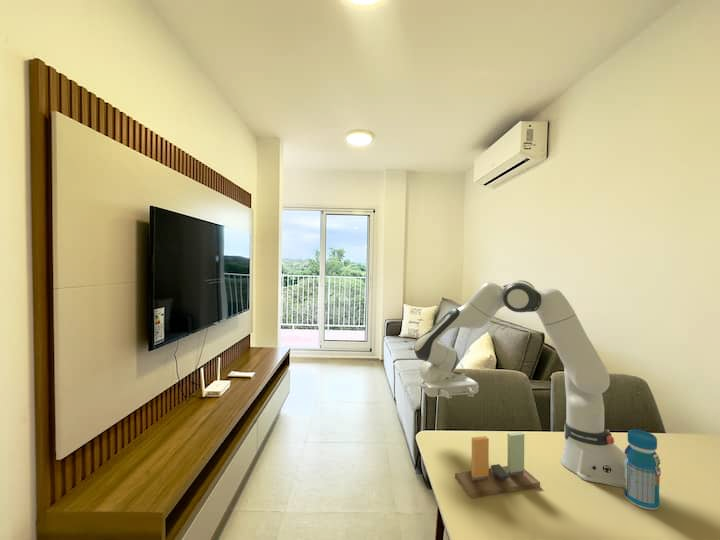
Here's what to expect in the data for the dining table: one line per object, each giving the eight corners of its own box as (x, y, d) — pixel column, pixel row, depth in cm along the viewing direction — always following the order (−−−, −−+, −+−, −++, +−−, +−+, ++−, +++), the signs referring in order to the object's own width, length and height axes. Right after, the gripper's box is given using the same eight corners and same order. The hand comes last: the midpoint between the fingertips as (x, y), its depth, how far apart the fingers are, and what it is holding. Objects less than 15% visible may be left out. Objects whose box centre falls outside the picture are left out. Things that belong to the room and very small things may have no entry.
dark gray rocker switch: (498, 469, 113) (499, 464, 113) (508, 481, 108) (509, 475, 108) (490, 471, 112) (490, 465, 112) (499, 483, 107) (500, 476, 107)
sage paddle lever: (521, 471, 113) (521, 431, 112) (524, 474, 111) (524, 434, 111) (507, 473, 111) (507, 433, 111) (510, 476, 110) (510, 435, 110)
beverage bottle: (636, 510, 97) (636, 440, 97) (617, 490, 106) (617, 426, 105) (668, 512, 96) (669, 442, 96) (646, 492, 105) (646, 428, 105)
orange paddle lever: (485, 477, 110) (486, 436, 110) (488, 480, 108) (488, 438, 108) (471, 479, 109) (471, 437, 109) (473, 482, 107) (474, 440, 107)
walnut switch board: (518, 468, 117) (518, 464, 117) (540, 487, 107) (540, 482, 107) (455, 477, 112) (455, 473, 112) (471, 497, 102) (471, 493, 102)
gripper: (418, 375, 131) (433, 388, 118) (466, 372, 136) (486, 384, 122) (418, 392, 131) (433, 406, 118) (466, 388, 136) (486, 402, 122)
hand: (461, 395), depth 120 cm, fingers open, 7 cm apart
